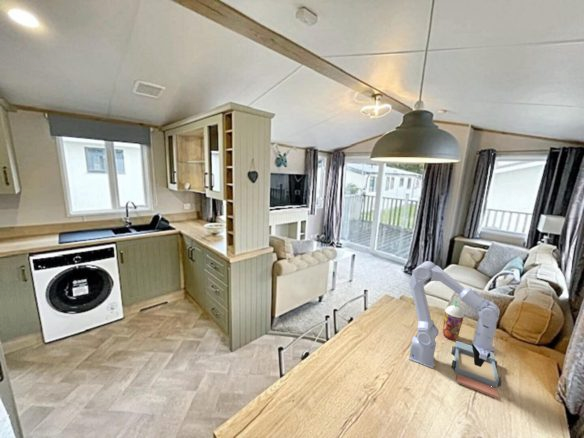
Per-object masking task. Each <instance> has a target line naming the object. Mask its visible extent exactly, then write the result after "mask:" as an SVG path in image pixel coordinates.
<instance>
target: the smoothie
mask: <svg viewBox="0 0 584 438" xmlns="http://www.w3.org/2000/svg"><path fill="white" fill-rule="evenodd" d="M443 316H444V317H443V326H442V334H443V337H444V336H445V337H444V338H446V339H447V338H448V340H450V341H457V340H458V338H459V335H460V331H461V328H462V324H463V321H464V317H465V314H464V312H463V310H462V308H461V307H459V306H458V300H455V304H451V305H449V306H447V307H446V308H445V309H444V315H443Z"/></svg>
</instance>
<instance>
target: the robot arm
mask: <svg viewBox="0 0 584 438" xmlns="http://www.w3.org/2000/svg"><path fill="white" fill-rule="evenodd" d="M429 279H430V281H431V282H440V283H442V284H443V285H445V286H446V287H448V288H449V289H450V290H452V291H453V292H455V293H456V294H458V296H459V300H461V301H462V302H463V303H464V304H465V305H467V306H469V307H470V309H472V310H474V311H475V312H476V313H477V314H478V316H479V317H478V319H477V321H476V327H475V331H474V335H473V339H472V341H471V342H472V343H471V346H472V349H473V352H474V364H475V365H477V366H479V367H481V366H482V365H483V363H484V361H485V360H486V359H487V358H489V357H490V352H495V351H496V347H495V346H493V342H494V338H495V334H496V329H497V324H498V321H499V316H500V313H501V312H500V310H501V309H500V307H499V306H498V305H497V304H496V303H495V302H494V301H490V300H489V299H485V297H483V296H482V295H480V294H478V291H477V290H476V289H472V288H469V287H468V288H466V287H464V286H463V285H461V284H460V283H459V282H458V281H457V280H456V279H454V278H453V277H452V276H450V274H448V273H447V272H445V271H444V270H443V269H442V268H441V267H440V266H439V265H436V264H435V263H434V262H432V261H430V260H426V261H423V262H422V263H421V264H419V265H417V267H415V269H412V274H411V276H410V279H409V286H410V291H411V295H412V299H413V303H414V307H415V308H414V309H415V311H416V317H417V326H416V327H417V328H416V329H417V335H416V336H412V340H411V345H410V346H411V347H409V358H408V359H409V360H410V361H413V362H415V363H417V364H419V365H420V364H421V365H424V366H426V367H428V368H431V369H434V365H435V364H434V363H435V352H436V347H437V346H436V344H437V343H436V342H437V341H436V338H437V337H438V336H439V329H438V327H437V326H436V324H435V321H434V320H433V319H432V317H431V313H430V309H429V305H428V300H427V295H426V291H425V286H424V283H425V282H427V280H429Z"/></svg>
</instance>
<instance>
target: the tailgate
mask: <svg viewBox="0 0 584 438" xmlns="http://www.w3.org/2000/svg"><path fill="white" fill-rule="evenodd" d="M456 382H457V384H460V385H462V386H465V387H468V388H470V389H472V390H475V391H478V392H481V393H483V394H485V395H488V396H490V397H493V398H494V399H499V394H498V390H497V389H496V388H494V387H491V386H489V385H486V384H484V383H481V382H478V381H476V380H473V379H470V378H468V377H465V376H463V375H460V374H457V373H456Z"/></svg>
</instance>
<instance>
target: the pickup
mask: <svg viewBox="0 0 584 438" xmlns="http://www.w3.org/2000/svg"><path fill="white" fill-rule="evenodd" d="M451 354H452V355H454V359H452V362H451V368H452V369H454V373H455V374H456V375H457V374H460V375H463V376H465V377H468V378H470V379H473V380H476V381H478V382H481V383H484V384H486V385H489V386H492V387H494V388H497V389H498V386H500V387H501V385H502V377H501V376H499V374H498V371H497V367H498V360H496V359H495V354H494V352H493V351H490V357H489V358H487V359H486V360H485V361H484V363H483V365H482V366H481V367H479V366H477V365H475V364H474V352H473V349H472V344H471V345H470V344H467V343H465V342H461V341H458V340H455V346H454V345H452V347H451Z"/></svg>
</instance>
